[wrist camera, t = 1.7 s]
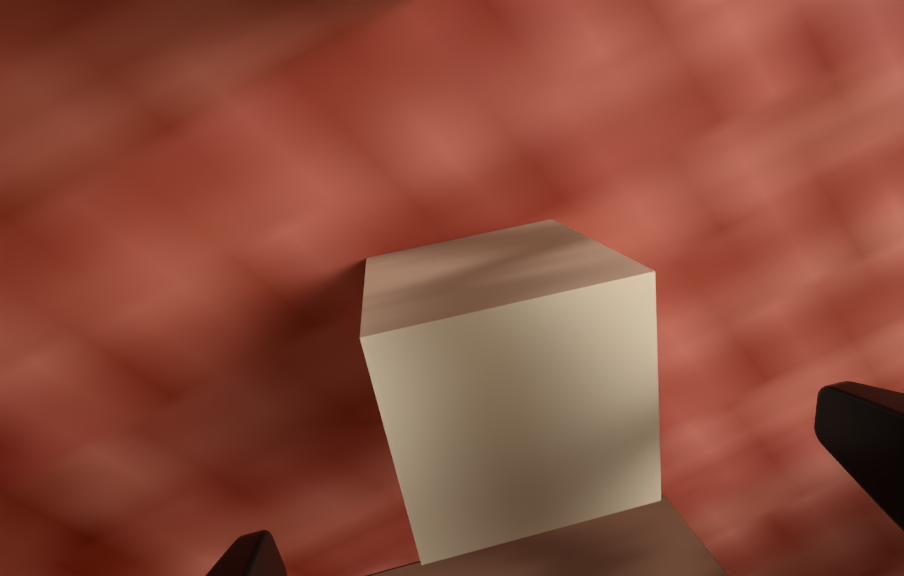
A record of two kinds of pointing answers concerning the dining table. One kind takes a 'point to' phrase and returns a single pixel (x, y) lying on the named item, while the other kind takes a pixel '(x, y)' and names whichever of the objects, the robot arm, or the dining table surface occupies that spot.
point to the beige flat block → (590, 550)
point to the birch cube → (514, 383)
